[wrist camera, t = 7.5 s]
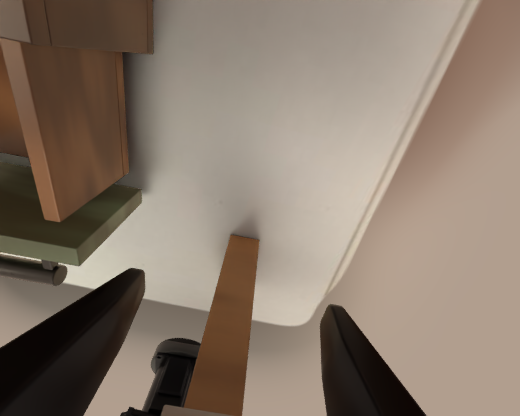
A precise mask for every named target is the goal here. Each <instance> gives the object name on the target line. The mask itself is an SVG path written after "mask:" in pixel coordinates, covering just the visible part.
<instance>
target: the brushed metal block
mask: <svg viewBox="0 0 520 416" xmlns="http://www.w3.org/2000/svg"><path fill="white" fill-rule="evenodd" d="M161 416H232V415H226V414H220V413H214V412H207V411H201V410H195V409H189V408H182V407H176V406H170V405H164V407H163V410H162V413H161Z"/></svg>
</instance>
